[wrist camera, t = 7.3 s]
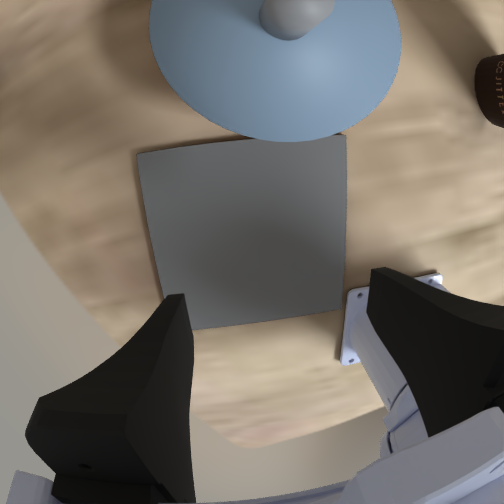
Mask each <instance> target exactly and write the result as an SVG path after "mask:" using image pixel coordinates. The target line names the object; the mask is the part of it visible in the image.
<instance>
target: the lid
mask: <svg viewBox="0 0 504 504" xmlns="http://www.w3.org/2000/svg"><path fill="white" fill-rule="evenodd" d="M149 34H150V42H151V46H152V50H153V53H154V57H155V59H156V62H157V64H158V66H159V68H160V70H161V72H162V74H163V76H164V77H165V79H166V80H167V82H168V83H169V85H170V86H171V87H172V89H173V90H174V91H175V92H176V93H177V94H178V95H179V97H180V98H181V99H182V100H183V101H184V102H186V103H187V104H188V105H189V106H190V107H191V108H192V109H194V110H195V111H196V112H198V113H199V114H201V115H202V116H204V117H205V118H207V119H208V120H209V121H211V122H213V123H215V124H217V125H219V126H221V127H223V128H225V129H227V130H230V131H233V132H235V133H238V134H241V135H244V136H248V137H252V138H256V139H260V140H267V141H275V142H301V141H311V140H315V139H320V138H324V137H328V136H331V135H333V134H336V133H339V132H342V131H344V130H345V129H347V128H349V127H351V126H353V125H355V124H356V123H358V122H359V121H361V120H362V119H363V118H365V117H366V116H368V115H369V114H370V113H371V112H372V111H373V110H374V109H375V108H376V107H377V106H378V105H379V103H380V102H381V101H382V100H383V98H384V97H385V96H386V94H387V92H388V91H389V89H390V87H391V85H392V83H393V81H394V78H395V76H396V73H397V70H398V66H399V61H400V54H401V34H400V27H399V22H398V18H397V15H396V12H395V9H394V6H393V4H392V2H391V0H152V4H151V9H150V15H149Z"/></svg>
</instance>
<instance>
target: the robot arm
mask: <svg viewBox="0 0 504 504" xmlns="http://www.w3.org/2000/svg"><path fill="white" fill-rule="evenodd" d="M442 279H443V276H442V275H441V274H440V273H435V274H430V275H425V276H420V277H415V278H412V277H410V276H407V275H405V274H403V273H400V272H398V271H395V270H392V269H389V268H386V267H382V268H376V269H371V278H370V286H368V287H362V288H356V289H352V290H350V291H349V292H348V294H347V301H346V312H345V322H344V331H343V340H342V348H341V356H340V363H341V364H342V365H343V366H345V365H350V364H354V363H358V362H361V363H362V365H363V367H364V368H365V370H366V372H367V374H368V375H369V377H370V379H371V381H372V383H373V384H374V386H375V388H376V390H377V392H378V394H379V395H380V397H381V399H382V401H383V403H384V405H385V406H386V408H387V410H388V412H389V413H388V414H387V415H386V416H385V417H384V418H383V421H384V423H385V425H386V427H387V429H388V431H387V432H385V433H384V434H383V436H382V438H381V441H380V442H381V443H380V457H381V458H380V459H378V460H376V461H375V462H373V463H371V464H370V465H368V466H367V467H365V468H364V469H362V470H360V471H359V472H357V473H356V474H355V475H354V477H353V478H352V479H350V480H347V481H343V482H339V483H336V484H332V485H328V486H324V487H319V488H315V489H310V490H306V491H301V492H296V493H290V494H285V495H279V496H273V497H265V498H258V499H250V500H240V501H229V502H214V503H196V497H195V490H194V481H193V472H192V461H191V446H190V428H189V427H190V426H189V409H190V397H191V387H192V377H193V366H194V337H193V333H192V328H191V324H190V319H189V314H188V310H187V305H186V300H185V295H184V293H180V294H170V295H167V296H166V298H165V299H164V300H163V301H162V303H161V304H160V305H159V306H158V308H157V309H156V310H155V312H154V313H153V314H152V315H151V317H150V318H149V319H148V320H147V321H146V323H145V324H144V325H143V326H142V327H141V328H140V329H139V330H138V331H137V333H136V334H135V335H134V336H133V337H132V338H131V339H130V340H129V341H128V342H127V343H126V344H125V345H124V346H123V347H122V348H121V349H119V350H118V351H117V352H116V353H115V354H114V355H112V356H111V357H110V358H109V359H107V360H106V361H105V362H103V363H102V364H100V365H99V366H98V367H97V368H95V369H94V370H92V371H91V372H89V373H88V374H86V375H84V376H83V377H81V378H79V379H78V380H76V381H74V382H72V383H70V384H68V385H66V386H65V387H63V388H60V389H58V390H56V391H54V392H52V393H49V394H47V395H45V396H42V397H40V398H39V399H38V401H37V404H36V406H35V409H34V411H33V413H32V416H31V418H30V420H29V423H28V426H27V428H26V432H25V437H26V439H27V441H28V444H29V445H30V447H31V448H32V449H33V450H34V452H35V453H36V454H37V455H38V456H39V457H40V458H41V459H42V460H43V461H44V462H45V463H46V464H47V465H48V466H49V467H50V468H51V469H52V470H53V471H54V472H55V473H56V475H55V479H54V482H53V481H51V480H49V479H47V478H44V477H42V476H38V475H34V474H30V473H26V472H23V471H19V470H17V471H16V472H15V475H14V478H13V481H12V484H11V487H10V491H9V494H8V498H7V502H6V504H504V306H499V305H493V304H488V303H483V302H478V301H474V300H470V299H467V298H464V297H460V296H457V295H454V294H451V293H450V292H449V291H448V290H447V289H446V288H444V287H443V286H442V285H441V283H442ZM429 280H430V281H429ZM428 281H429V282H428ZM359 293H361V294H360V295H359V296H358V294H359ZM350 359H351V360H350Z"/></svg>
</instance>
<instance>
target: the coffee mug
mask: <svg viewBox="0 0 504 504" xmlns="http://www.w3.org/2000/svg"><path fill="white" fill-rule="evenodd" d="M475 91H476V97H477V100H478V103H479V106H480V108H481V110H482V112H483V114H484V115H485V117H486V118H487V119H488V120H489V121H490V122H491V123H492V124H494V125H496V126H499V127H502V128H504V54H501V55H496V56H492V57H487V58H484V59H482V60H481V61H480V62H479V64H478V66H477V68H476V72H475Z"/></svg>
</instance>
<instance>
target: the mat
mask: <svg viewBox="0 0 504 504" xmlns="http://www.w3.org/2000/svg"><path fill="white" fill-rule="evenodd" d="M136 156H137V163H138V170H139V176H140V183H141V189H142V195H143V200H144V206H145V212H146V217H147V222H148V228H149V233H150V238H151V243H152V247H153V252H154V257H155V261H156V266H157V270H158V275H159V279H160V283H161V288H162V292H163V296H164V299H165V298H166V296H167V295H170V294H180V293H184V295H185V300H186V305H187V310H188V314H189V319H190V324H191V328H192V330H199V329H208V328H217V327H225V326H233V325H241V324H249V323H256V322H264V321H271V320H277V319H284V318H291V317H297V316H303V315H309V314H315V313H321V312H327V311H333V310H338V309H341V307H342V295H343V281H344V265H345V244H346V213H347V152H346V135H331V136H328V137H324V138H320V139H315V140H311V141H301V142H275V141H267V140H260V139H256V138H255V139H243V140H232V141H223V142H214V143H205V144H197V145H190V146H182V147H175V148H169V149H162V150H156V151H150V152H144V153H138V154H136Z"/></svg>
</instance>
